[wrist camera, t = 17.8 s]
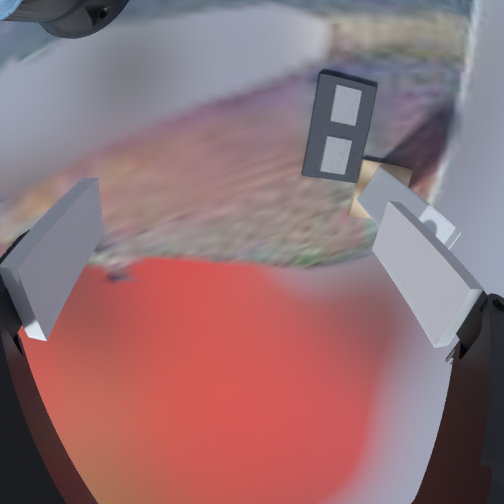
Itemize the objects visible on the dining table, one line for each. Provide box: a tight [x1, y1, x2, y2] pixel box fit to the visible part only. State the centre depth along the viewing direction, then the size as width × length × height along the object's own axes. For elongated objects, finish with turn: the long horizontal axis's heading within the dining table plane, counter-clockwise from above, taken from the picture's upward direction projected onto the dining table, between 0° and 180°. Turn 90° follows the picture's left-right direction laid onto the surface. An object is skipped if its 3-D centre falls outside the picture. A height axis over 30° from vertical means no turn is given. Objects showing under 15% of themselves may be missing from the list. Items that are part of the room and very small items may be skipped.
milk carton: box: [357, 167, 461, 249], centre depth 40 cm, size 7×7×19 cm
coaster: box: [348, 159, 413, 218], centre depth 48 cm, size 10×10×1 cm
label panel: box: [301, 73, 376, 183], centre depth 42 cm, size 16×9×1 cm, turn 173°
